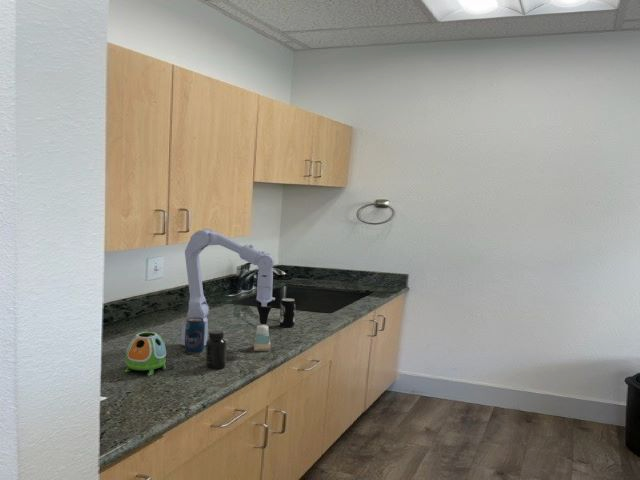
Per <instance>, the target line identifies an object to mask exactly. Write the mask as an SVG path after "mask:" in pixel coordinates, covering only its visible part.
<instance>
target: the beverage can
mask: <svg viewBox="0 0 640 480" xmlns="http://www.w3.org/2000/svg"><path fill="white" fill-rule="evenodd" d="M295 316H296V301H295V298H289V297H288V298H287V297H284V298H282V299H281V301H280V311H279V326H280V327H282V328H292V327H294V326H295V320H296V317H295Z"/></svg>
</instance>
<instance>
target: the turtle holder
mask: <svg viewBox="0 0 640 480" xmlns="http://www.w3.org/2000/svg"><path fill="white" fill-rule="evenodd" d="M166 348H167V347H166V345H165V342H164V339H163V336H162V335H160V334H159V333H157V332H154V331H142V332H139V333H136V334H135V337H134V338H132V339H131V341H130V343H129V345H128V346H127V349H126V352H125V365H126V367H127V368H126V369H125V372H126V373H130V372H132V370H134V371H148V372H147V375H146V376H148V377H151V376H153V375H154V374H155V373H154V372H155V370H156V369H159V368H161V370H162V369H164V370H166V369H167V366H166V362H167V360H166V355H167V349H166ZM150 375H151V376H150Z"/></svg>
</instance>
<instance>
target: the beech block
mask: <svg viewBox="0 0 640 480" xmlns="http://www.w3.org/2000/svg"><path fill="white" fill-rule="evenodd" d="M253 342H254V343H253V351H255V352H256V351H257V352H258V351H259V352H271V339H269V344H255V340H254V341H253Z"/></svg>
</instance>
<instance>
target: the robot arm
mask: <svg viewBox="0 0 640 480" xmlns="http://www.w3.org/2000/svg"><path fill="white" fill-rule="evenodd" d="M189 237H190V238H189V241H188V243H187V245H186V246H185V247H186V248H185V249H184V255H185V256H184V257H185V265H186V273H187V281H188V282H187V284H188V290H189V291H188V292H189V300H188V311H187V319H189V318H202V319H203V321H204V323H205V335H204V347H206V342H207V340H208V328H209V326H208V324H209V323H208V322H209V320H208V319H209V318H207V317H208V315H209V313H210V307H209V304H208V303H207V299H206V297H205V295H204V289H203V288H204V286H203V281H202V280H203V277H202V271H201V261H200V254H201V253H202V252H203V251H204V249H205V248H207V247H208V246H221V247H223V248H226V249H227V250H228V249H229V250H230V251H232V252H234V253H237V254H238V256H239V258H240V259H241V260H243V261H245V262H248V263H250V264H252V265H253V266H256V267H257V269H258V271H257V284H256V285H257V287H256V289H257V290H256V298H255V299H256V303H257V304H256V309H257V311H258V312H257V313H258V317H259V322H260V325H267V322H268V319H269V315H270V312H271V309H272V305H271V304H272V301H275V300H276V297H273V286H274V284H273V283H274V281H273V279H274V274H273V273H274V268H273V267H274V265H275V259H274V256H272V255H271V254H270V253H268V252H267V253H266V252H265V251H264V250H259V249H257V248H255V247H254V245H253V244H244V245H242V244H240V243H238V242H236V241H234V240H232V239H231V238H229V237H227V236H225V235H223V234H221V233H220V232H217V231H215V230H212V229H209V228H203V229H200V230H197V231H196V232H194V233H193V234H192V235H191V236H189ZM185 325H186V323H184V324H183V325H182V326H181V330H180V331H181V333H180V334H181V336H180V337H181V338H180V343H179V345H181V346H184V347H185Z"/></svg>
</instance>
